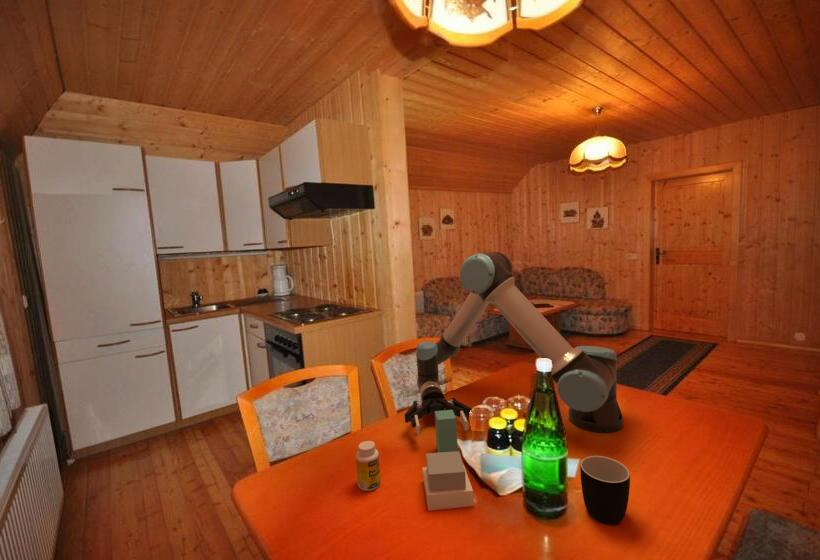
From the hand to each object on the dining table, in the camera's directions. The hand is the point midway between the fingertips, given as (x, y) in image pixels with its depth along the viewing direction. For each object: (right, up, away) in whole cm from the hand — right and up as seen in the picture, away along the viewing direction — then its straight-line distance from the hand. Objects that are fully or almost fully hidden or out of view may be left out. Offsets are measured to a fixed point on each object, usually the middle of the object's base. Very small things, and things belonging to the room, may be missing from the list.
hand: (442, 428), depth 103 cm
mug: (+31, -7, -25) cm, 41 cm away
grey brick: (-1, -4, -18) cm, 19 cm away
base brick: (0, -8, -18) cm, 19 cm away
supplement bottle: (-19, -9, -13) cm, 25 cm away
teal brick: (+1, -6, -2) cm, 6 cm away
